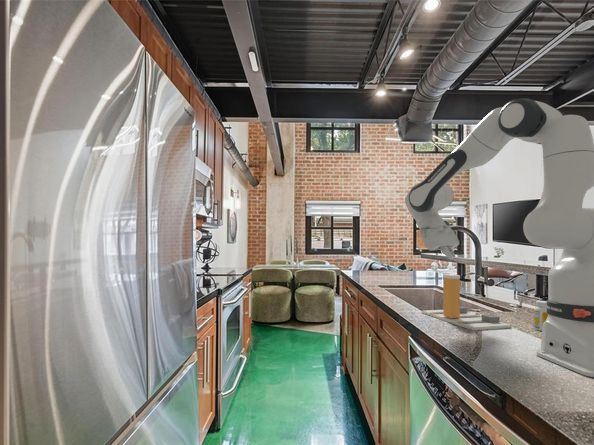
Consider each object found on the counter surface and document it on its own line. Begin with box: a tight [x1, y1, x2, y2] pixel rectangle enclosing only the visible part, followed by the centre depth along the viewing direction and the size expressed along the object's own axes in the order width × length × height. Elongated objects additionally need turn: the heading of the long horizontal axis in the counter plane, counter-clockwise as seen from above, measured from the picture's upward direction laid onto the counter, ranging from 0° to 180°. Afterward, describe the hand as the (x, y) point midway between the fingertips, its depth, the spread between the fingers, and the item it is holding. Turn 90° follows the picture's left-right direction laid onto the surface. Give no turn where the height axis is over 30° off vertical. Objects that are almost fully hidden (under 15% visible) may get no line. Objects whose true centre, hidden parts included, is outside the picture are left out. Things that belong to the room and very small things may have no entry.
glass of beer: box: [442, 273, 461, 318], centre depth 133 cm, size 4×4×16 cm
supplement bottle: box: [533, 300, 548, 332], centre depth 120 cm, size 5×5×10 cm
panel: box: [421, 305, 512, 331], centre depth 134 cm, size 28×16×3 cm, turn 15°
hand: (452, 258), depth 131 cm, fingers closed
